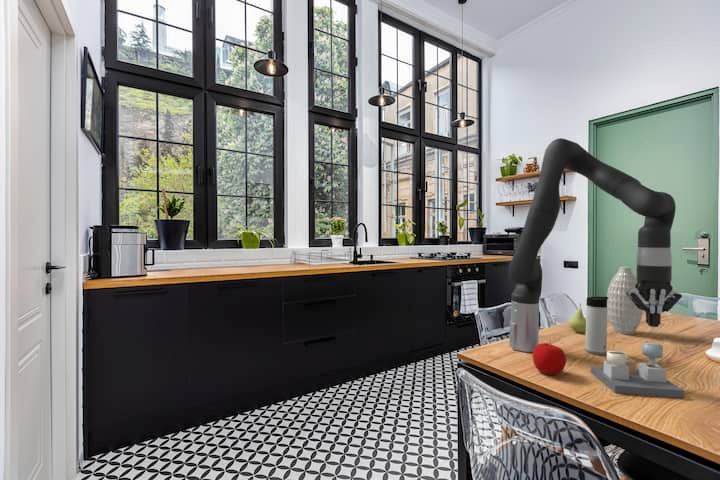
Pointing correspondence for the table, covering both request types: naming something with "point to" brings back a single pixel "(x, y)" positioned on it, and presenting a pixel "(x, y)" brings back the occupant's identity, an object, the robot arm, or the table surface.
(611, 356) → the knob ivory
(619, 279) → the vase
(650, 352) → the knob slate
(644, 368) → the plate
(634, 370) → the trim pot
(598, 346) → the travel mug
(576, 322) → the fruit
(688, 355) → the table surface
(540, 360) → the fruit
